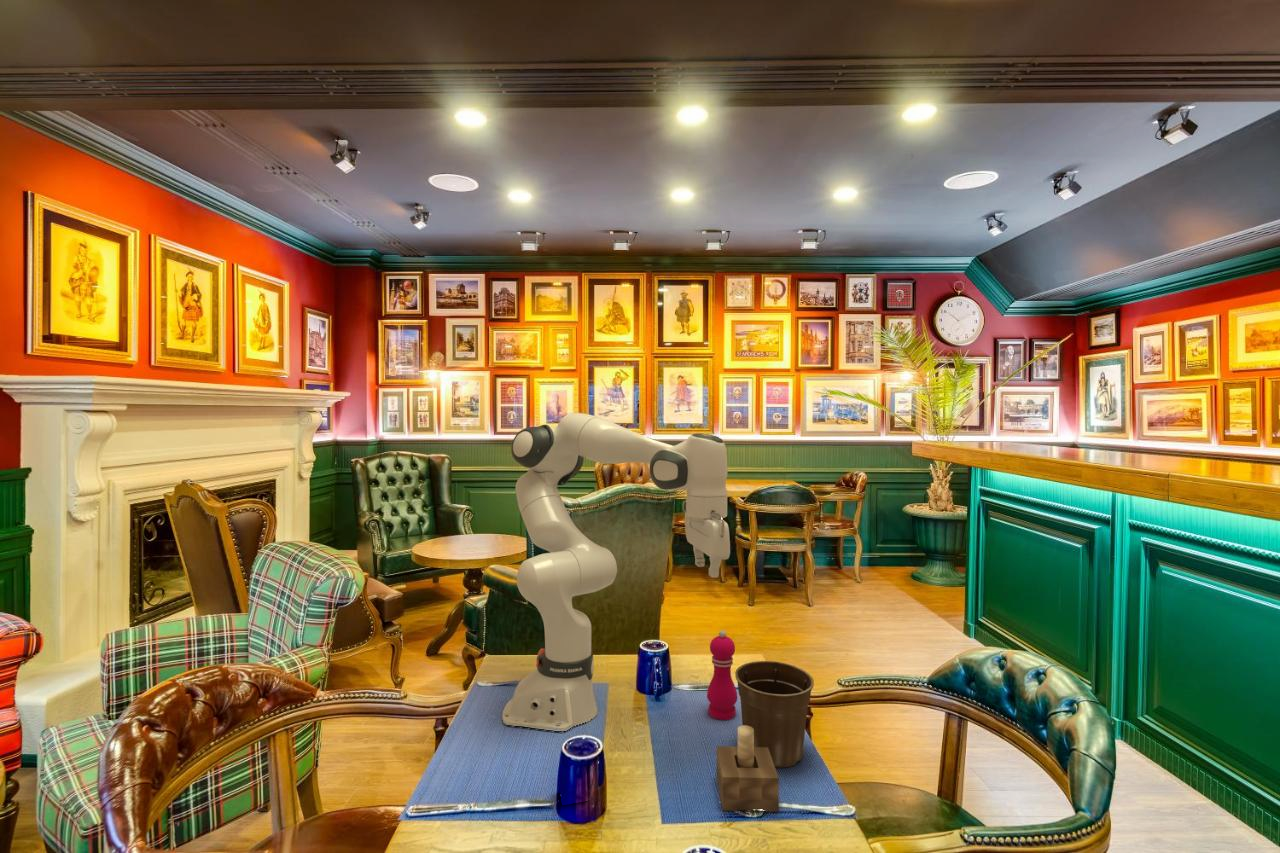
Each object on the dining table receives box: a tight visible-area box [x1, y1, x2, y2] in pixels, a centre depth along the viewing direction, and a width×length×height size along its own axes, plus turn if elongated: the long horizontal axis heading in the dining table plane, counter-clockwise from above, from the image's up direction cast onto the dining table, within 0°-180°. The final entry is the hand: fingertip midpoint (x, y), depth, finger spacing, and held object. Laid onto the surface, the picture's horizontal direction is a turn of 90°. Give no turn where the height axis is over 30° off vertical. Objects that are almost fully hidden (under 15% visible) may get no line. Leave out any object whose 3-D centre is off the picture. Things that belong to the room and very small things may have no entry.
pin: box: [737, 724, 754, 768], centre depth 109 cm, size 3×3×10 cm
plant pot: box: [734, 660, 815, 769], centre depth 123 cm, size 16×16×16 cm
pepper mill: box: [706, 629, 738, 721], centre depth 139 cm, size 7×7×20 cm
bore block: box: [716, 745, 780, 813], centre depth 109 cm, size 10×10×6 cm
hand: (706, 571), depth 127 cm, fingers open, 8 cm apart
